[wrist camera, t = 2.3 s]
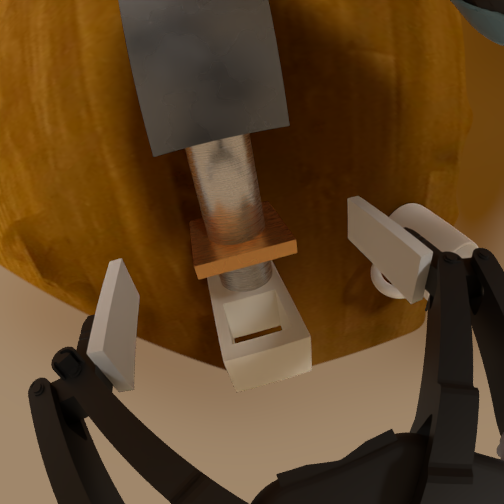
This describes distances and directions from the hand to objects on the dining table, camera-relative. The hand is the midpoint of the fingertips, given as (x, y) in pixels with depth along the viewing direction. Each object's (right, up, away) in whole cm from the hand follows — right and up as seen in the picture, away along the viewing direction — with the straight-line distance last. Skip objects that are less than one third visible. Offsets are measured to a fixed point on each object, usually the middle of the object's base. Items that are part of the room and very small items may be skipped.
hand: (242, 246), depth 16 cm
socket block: (0, -4, +17) cm, 17 cm away
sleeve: (-4, +15, +4) cm, 16 cm away
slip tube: (-2, +8, +4) cm, 9 cm away
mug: (+18, +2, +18) cm, 26 cm away
